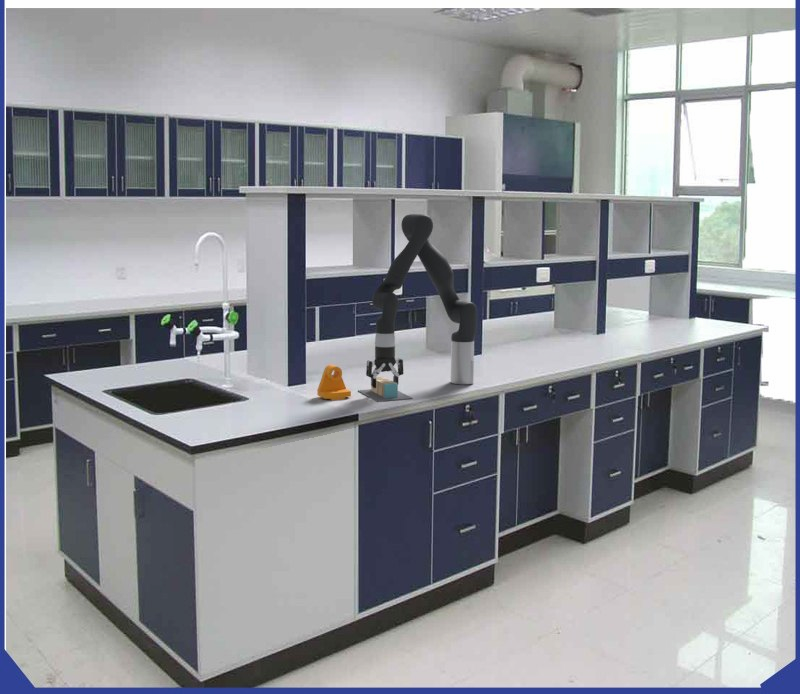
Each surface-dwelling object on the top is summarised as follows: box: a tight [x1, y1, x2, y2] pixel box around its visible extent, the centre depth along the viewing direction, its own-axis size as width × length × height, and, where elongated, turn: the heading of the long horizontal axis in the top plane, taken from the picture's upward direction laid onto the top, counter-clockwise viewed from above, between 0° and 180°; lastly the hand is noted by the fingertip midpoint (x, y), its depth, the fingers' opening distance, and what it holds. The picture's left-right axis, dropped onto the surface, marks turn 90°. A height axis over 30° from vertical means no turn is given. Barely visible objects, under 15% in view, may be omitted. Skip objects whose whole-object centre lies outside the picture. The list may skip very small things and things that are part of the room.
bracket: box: [316, 364, 352, 401], centre depth 323 cm, size 11×7×12 cm, turn 117°
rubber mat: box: [357, 388, 413, 403], centre depth 328 cm, size 20×14×1 cm
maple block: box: [370, 376, 399, 398], centre depth 329 cm, size 5×5×14 cm
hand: (384, 387), depth 328 cm, fingers open, 8 cm apart
